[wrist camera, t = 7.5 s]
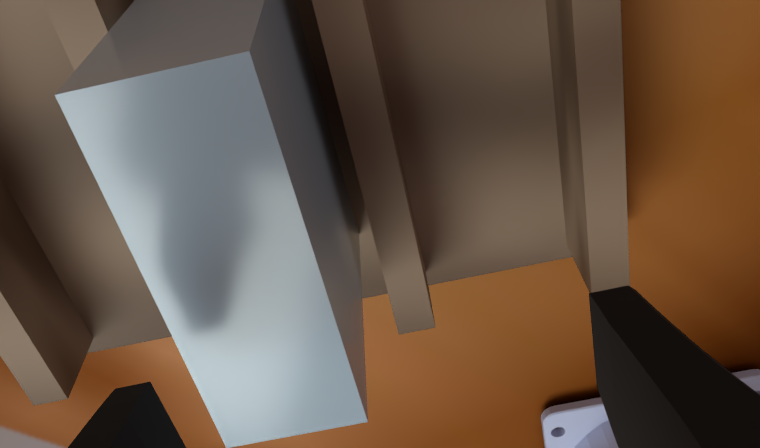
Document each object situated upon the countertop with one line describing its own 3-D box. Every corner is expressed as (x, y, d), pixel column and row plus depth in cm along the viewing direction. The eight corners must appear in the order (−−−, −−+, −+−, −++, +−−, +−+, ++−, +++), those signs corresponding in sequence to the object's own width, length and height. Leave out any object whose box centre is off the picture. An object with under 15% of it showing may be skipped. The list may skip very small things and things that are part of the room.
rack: (614, 227, 22) (656, 299, 19) (58, 339, 24) (18, 422, 21) (594, -221, 16) (653, -217, 13) (-168, -35, 17) (-271, 7, 14)
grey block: (358, 234, 21) (367, 421, 15) (257, 254, 21) (226, 447, 15) (280, -53, 17) (249, 51, 11) (153, -24, 17) (54, 94, 11)
